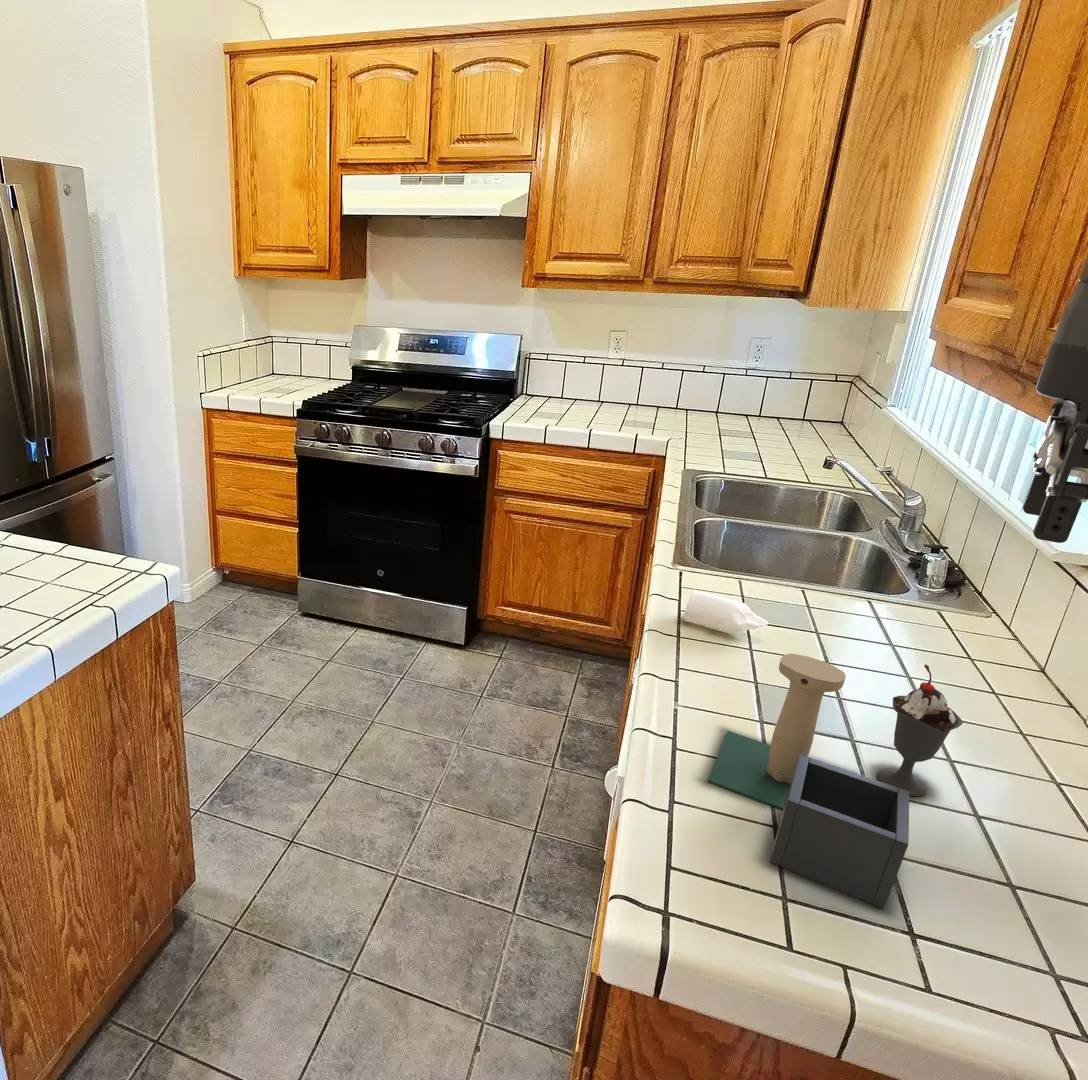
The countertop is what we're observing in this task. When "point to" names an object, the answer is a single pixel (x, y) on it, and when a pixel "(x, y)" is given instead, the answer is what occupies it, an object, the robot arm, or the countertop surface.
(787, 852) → the grey box
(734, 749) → the mat
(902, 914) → the countertop surface
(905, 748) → the sundae
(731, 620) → the white tapered piece
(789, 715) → the handle
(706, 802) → the countertop surface
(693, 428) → the countertop surface
